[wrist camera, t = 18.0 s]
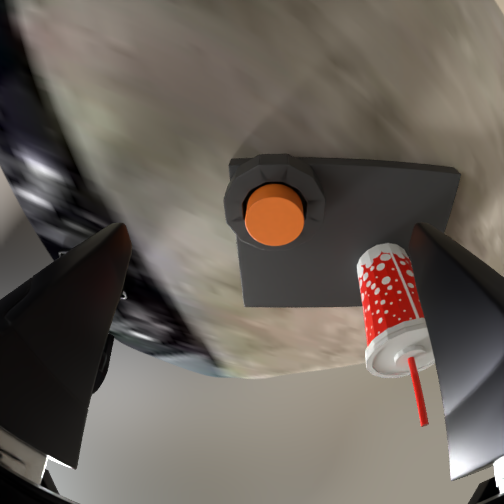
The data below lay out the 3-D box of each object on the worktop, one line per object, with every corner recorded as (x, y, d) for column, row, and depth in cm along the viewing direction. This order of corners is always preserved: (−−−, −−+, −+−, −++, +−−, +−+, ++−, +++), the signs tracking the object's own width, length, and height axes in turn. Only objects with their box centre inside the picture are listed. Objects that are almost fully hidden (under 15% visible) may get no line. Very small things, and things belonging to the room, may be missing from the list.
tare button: (249, 230, 22) (247, 246, 20) (245, 183, 19) (242, 197, 18) (301, 230, 21) (303, 246, 20) (303, 183, 19) (305, 196, 18)
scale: (242, 297, 30) (239, 322, 27) (226, 148, 20) (219, 166, 18) (413, 295, 28) (421, 318, 26) (456, 158, 19) (475, 176, 17)
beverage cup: (343, 291, 27) (364, 446, 16) (352, 235, 23) (392, 414, 12) (406, 288, 26) (446, 431, 15) (423, 234, 22) (490, 392, 11)
